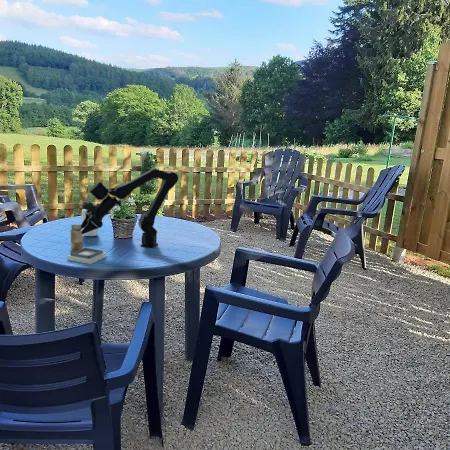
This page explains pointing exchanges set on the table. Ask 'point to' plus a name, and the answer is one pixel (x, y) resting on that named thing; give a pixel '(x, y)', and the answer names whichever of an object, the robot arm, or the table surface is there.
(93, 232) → the cup
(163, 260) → the table surface
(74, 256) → the stand
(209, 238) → the table surface
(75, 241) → the pepper mill
